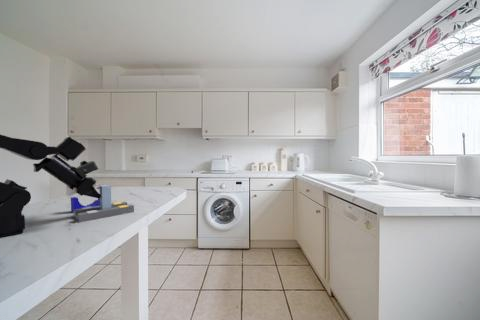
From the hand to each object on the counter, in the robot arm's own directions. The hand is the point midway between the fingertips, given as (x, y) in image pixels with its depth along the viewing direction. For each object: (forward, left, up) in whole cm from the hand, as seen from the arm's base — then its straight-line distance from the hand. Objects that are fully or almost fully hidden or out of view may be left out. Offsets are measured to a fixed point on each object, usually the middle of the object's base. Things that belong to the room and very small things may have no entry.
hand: (100, 197), depth 84 cm
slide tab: (+2, 0, -5) cm, 6 cm away
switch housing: (+1, 0, -7) cm, 7 cm away
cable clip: (-1, +13, -7) cm, 15 cm away
